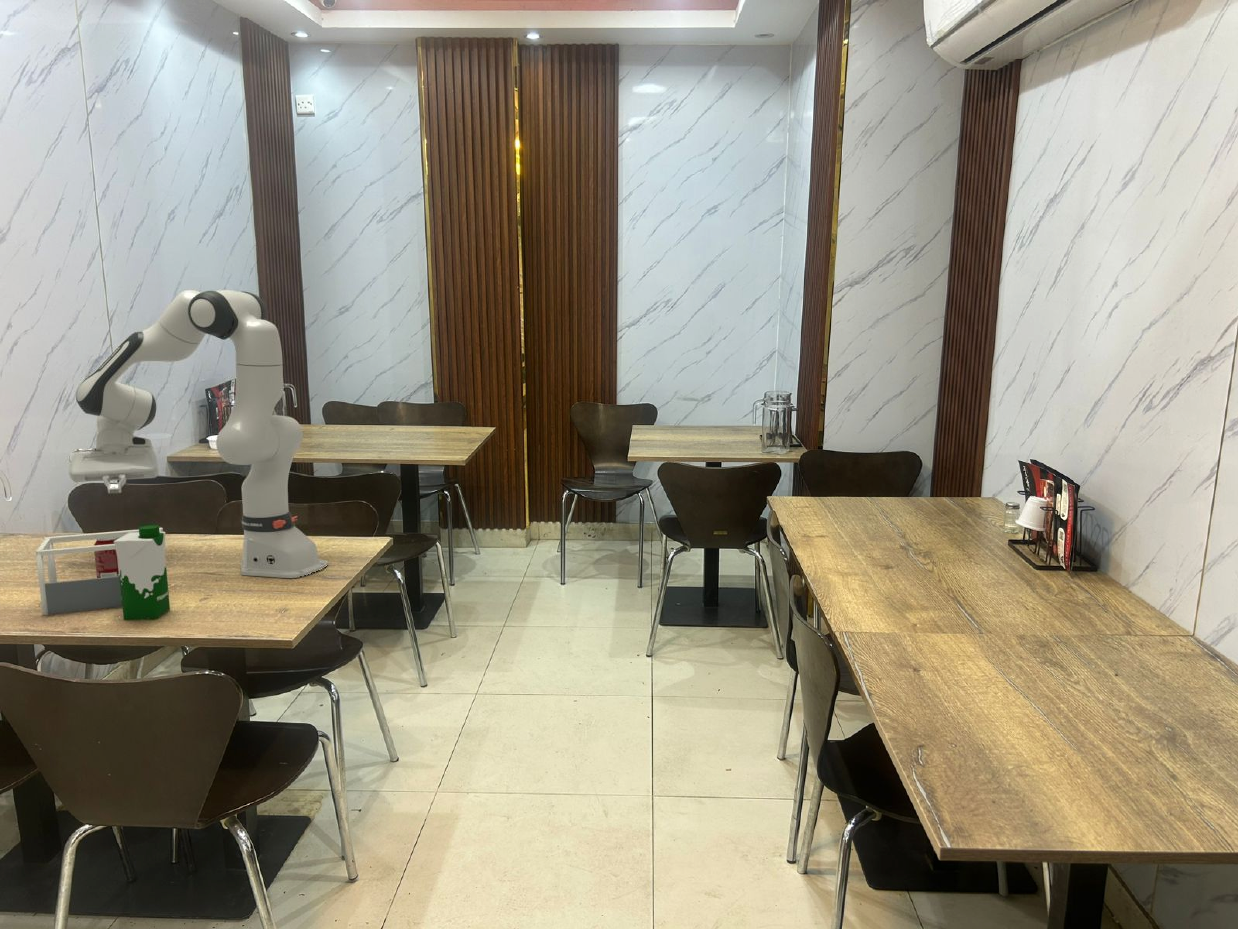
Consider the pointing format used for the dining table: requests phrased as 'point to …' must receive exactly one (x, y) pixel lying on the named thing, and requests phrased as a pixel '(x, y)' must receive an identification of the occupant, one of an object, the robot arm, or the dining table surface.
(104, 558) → the soda can
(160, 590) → the milk carton
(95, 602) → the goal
